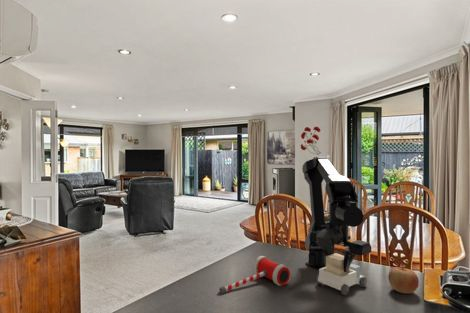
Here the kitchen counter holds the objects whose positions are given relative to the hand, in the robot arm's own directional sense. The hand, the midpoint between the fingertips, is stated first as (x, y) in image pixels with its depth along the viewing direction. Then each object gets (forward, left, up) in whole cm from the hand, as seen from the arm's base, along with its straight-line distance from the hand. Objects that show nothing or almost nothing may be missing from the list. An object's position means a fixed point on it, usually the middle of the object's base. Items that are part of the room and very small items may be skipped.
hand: (337, 269), depth 94 cm
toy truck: (-2, 0, -6) cm, 6 cm away
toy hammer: (+18, -17, -6) cm, 25 cm away
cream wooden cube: (0, 0, -1) cm, 1 cm away
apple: (-13, +14, -6) cm, 20 cm away
